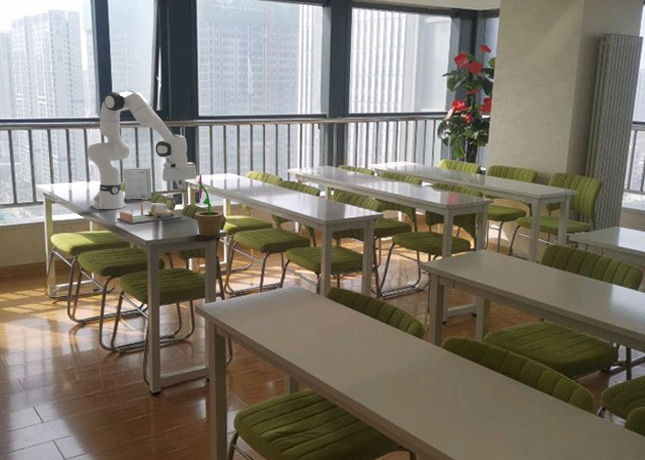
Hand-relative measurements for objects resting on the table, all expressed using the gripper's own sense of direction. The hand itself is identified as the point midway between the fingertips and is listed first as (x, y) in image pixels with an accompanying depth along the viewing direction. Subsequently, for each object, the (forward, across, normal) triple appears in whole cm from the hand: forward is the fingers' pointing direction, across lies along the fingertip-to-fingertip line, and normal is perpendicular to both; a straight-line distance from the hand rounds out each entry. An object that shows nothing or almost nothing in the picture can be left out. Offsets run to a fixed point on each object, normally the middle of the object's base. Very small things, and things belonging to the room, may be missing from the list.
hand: (180, 188), depth 401 cm
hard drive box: (+15, -8, -68) cm, 70 cm away
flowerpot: (+17, +15, +52) cm, 57 cm away
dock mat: (+16, +20, 0) cm, 25 cm away
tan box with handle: (+14, +12, 0) cm, 19 cm away
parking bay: (+15, +27, 0) cm, 31 cm away
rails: (+16, +20, 0) cm, 25 cm away
